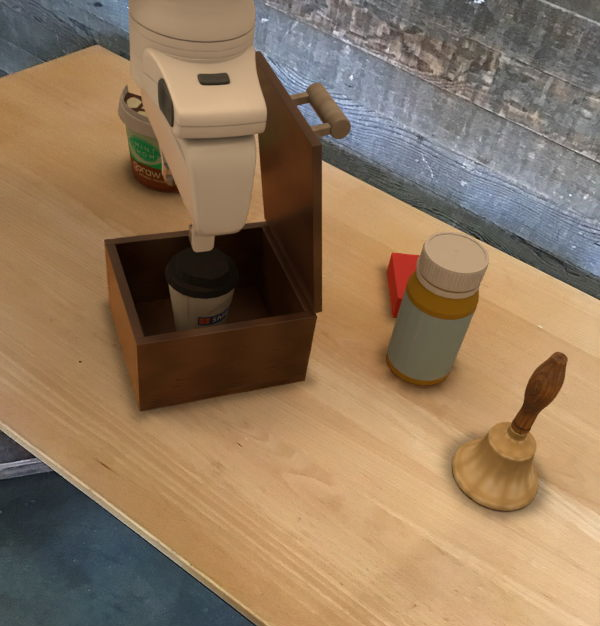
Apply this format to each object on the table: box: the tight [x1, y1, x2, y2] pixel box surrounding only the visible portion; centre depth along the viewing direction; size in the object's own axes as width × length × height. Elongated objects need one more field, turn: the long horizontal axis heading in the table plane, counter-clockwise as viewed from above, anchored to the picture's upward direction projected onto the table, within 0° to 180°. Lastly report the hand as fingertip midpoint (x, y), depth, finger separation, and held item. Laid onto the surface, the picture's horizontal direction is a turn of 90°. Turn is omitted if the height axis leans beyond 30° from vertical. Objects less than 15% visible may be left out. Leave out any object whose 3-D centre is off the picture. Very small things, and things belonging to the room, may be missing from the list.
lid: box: [255, 50, 352, 314], centre depth 68 cm, size 18×15×5 cm
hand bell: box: [451, 351, 569, 512], centre depth 66 cm, size 8×8×16 cm
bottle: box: [385, 230, 490, 386], centre depth 75 cm, size 7×7×15 cm
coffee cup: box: [165, 247, 239, 332], centre depth 74 cm, size 7×7×10 cm
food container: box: [117, 84, 180, 193], centre depth 92 cm, size 12×6×10 cm, turn 71°
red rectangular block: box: [386, 252, 421, 318], centre depth 86 cm, size 8×7×6 cm
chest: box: [103, 220, 318, 412], centre depth 75 cm, size 17×15×9 cm
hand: (186, 212), depth 66 cm, fingers open, 8 cm apart
